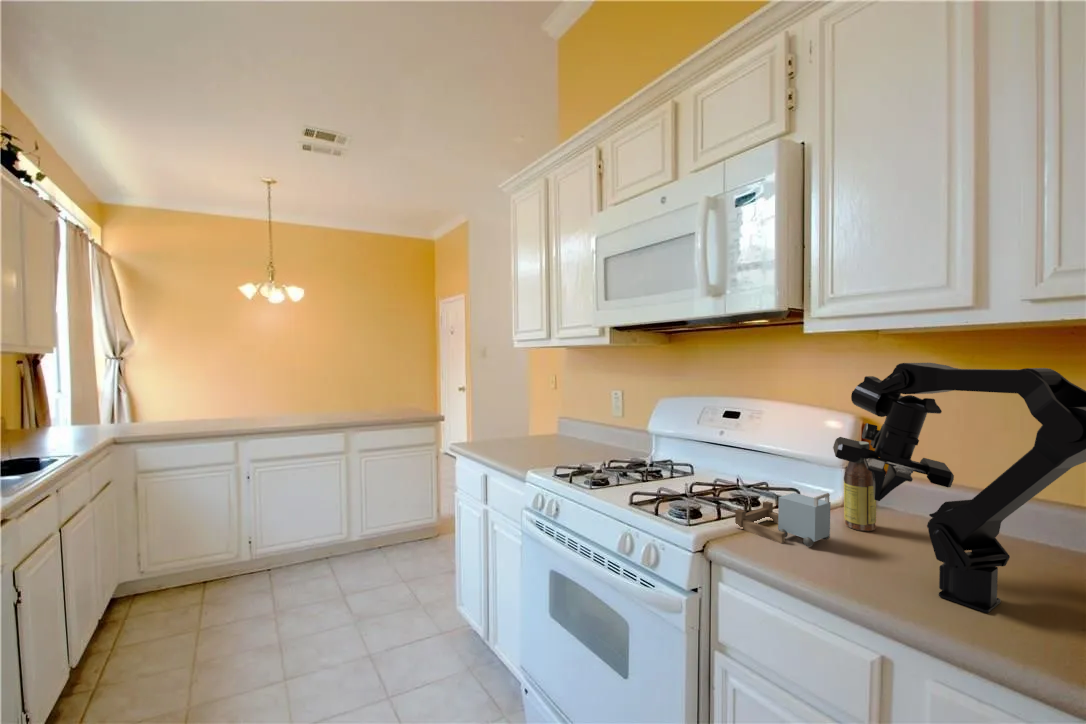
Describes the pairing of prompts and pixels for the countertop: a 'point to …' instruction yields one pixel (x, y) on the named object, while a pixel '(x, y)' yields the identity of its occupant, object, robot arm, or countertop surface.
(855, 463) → the sauce bottle
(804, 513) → the cart
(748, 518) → the bay
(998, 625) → the countertop surface
